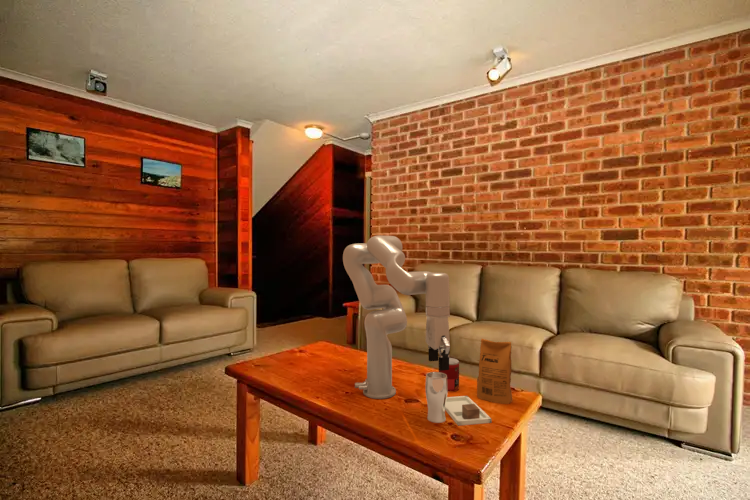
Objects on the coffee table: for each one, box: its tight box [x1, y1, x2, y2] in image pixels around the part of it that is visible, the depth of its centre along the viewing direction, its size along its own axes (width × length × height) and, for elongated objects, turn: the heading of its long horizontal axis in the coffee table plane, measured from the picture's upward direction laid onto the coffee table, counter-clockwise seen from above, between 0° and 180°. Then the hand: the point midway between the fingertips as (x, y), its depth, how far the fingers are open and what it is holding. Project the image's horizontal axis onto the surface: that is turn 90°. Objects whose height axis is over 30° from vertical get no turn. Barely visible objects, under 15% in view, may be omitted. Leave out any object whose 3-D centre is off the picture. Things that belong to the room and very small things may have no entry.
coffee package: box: [476, 338, 513, 405], centre depth 132 cm, size 10×12×22 cm
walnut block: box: [462, 403, 480, 419], centre depth 115 cm, size 4×4×4 cm
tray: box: [445, 395, 492, 426], centre depth 121 cm, size 11×18×2 cm, turn 10°
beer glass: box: [424, 371, 449, 424], centre depth 115 cm, size 7×7×15 cm
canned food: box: [438, 357, 460, 392], centre depth 144 cm, size 8×8×11 cm
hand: (438, 365), depth 116 cm, fingers open, 9 cm apart
